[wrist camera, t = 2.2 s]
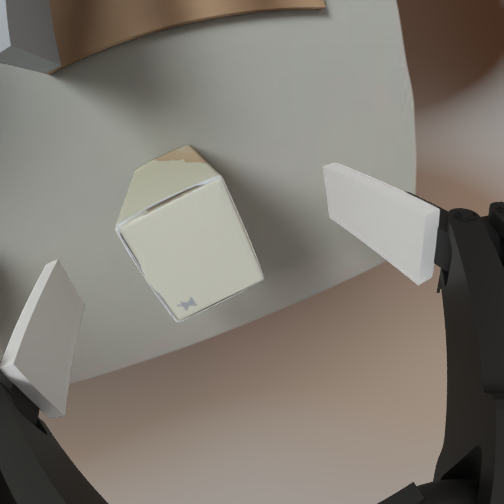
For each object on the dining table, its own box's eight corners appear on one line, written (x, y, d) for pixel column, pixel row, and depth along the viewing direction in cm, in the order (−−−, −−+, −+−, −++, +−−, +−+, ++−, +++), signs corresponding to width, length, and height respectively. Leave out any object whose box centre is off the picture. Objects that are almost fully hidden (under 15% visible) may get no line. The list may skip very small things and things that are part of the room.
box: (215, 204, 22) (270, 286, 13) (163, 230, 22) (178, 331, 12) (187, 139, 19) (223, 172, 10) (130, 167, 19) (110, 228, 10)
